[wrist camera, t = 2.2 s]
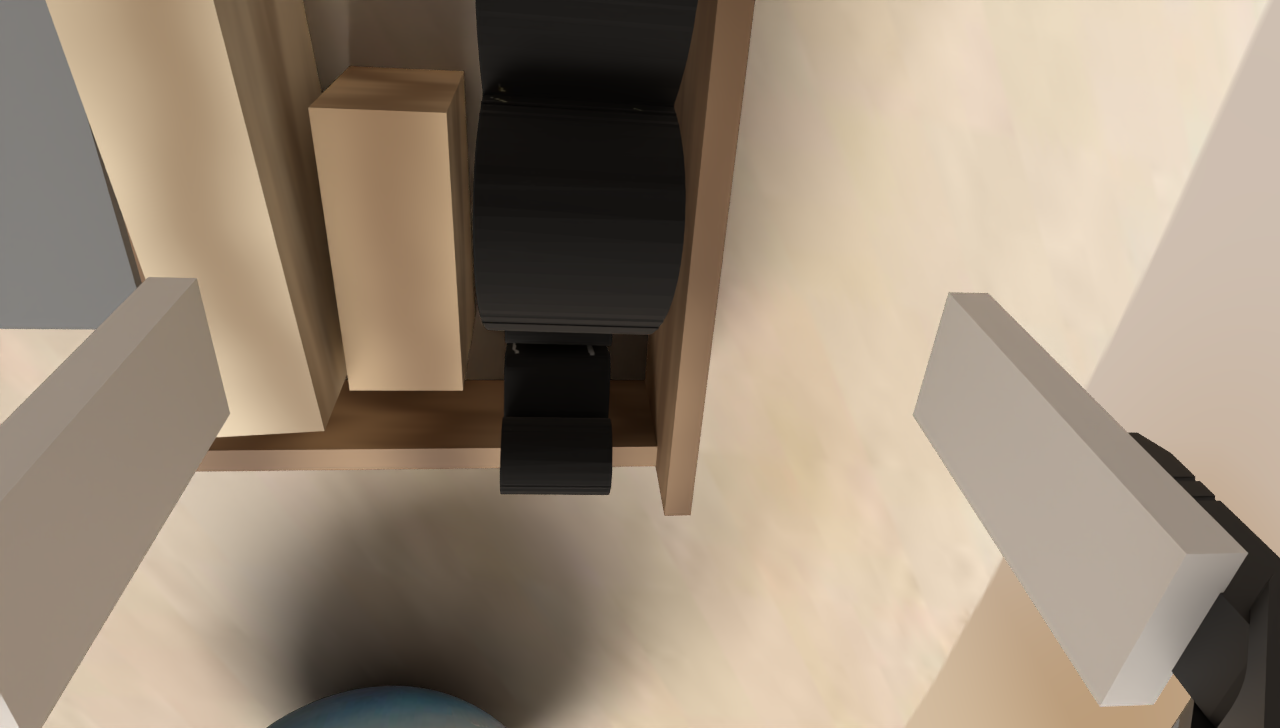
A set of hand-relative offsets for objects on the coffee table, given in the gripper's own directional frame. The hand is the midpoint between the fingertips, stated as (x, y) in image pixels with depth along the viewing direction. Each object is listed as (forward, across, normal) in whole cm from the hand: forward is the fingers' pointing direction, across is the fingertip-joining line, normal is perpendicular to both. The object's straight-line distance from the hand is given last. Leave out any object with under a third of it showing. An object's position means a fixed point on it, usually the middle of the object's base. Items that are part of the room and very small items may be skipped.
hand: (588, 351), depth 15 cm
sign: (+19, 0, 0) cm, 19 cm away
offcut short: (+18, -6, -4) cm, 20 cm away
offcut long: (+18, -11, -2) cm, 21 cm away
